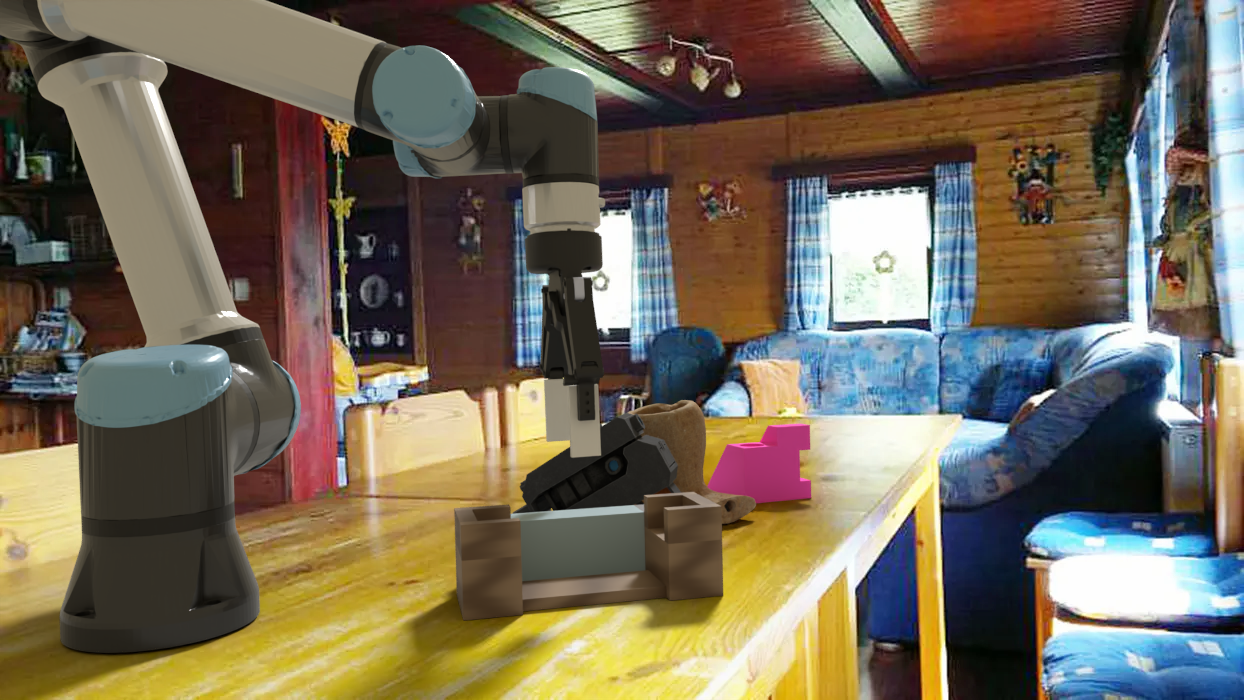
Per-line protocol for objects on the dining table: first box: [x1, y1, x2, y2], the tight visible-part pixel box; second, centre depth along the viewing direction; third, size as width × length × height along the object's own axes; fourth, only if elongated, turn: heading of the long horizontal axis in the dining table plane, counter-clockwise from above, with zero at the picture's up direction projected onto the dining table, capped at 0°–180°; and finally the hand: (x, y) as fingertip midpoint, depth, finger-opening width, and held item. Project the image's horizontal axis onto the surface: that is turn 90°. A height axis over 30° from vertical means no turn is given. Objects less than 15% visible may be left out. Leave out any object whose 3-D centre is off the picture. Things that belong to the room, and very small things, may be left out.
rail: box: [511, 504, 646, 581], centre depth 93 cm, size 18×4×6 cm, turn 104°
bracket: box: [706, 423, 812, 504], centre depth 135 cm, size 12×10×10 cm
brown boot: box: [627, 399, 757, 525], centre depth 118 cm, size 15×12×15 cm
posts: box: [453, 492, 724, 621], centre depth 85 cm, size 23×8×8 cm, turn 104°
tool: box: [511, 412, 681, 514], centre depth 107 cm, size 6×19×15 cm, turn 78°
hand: (571, 448), depth 93 cm, fingers open, 13 cm apart
